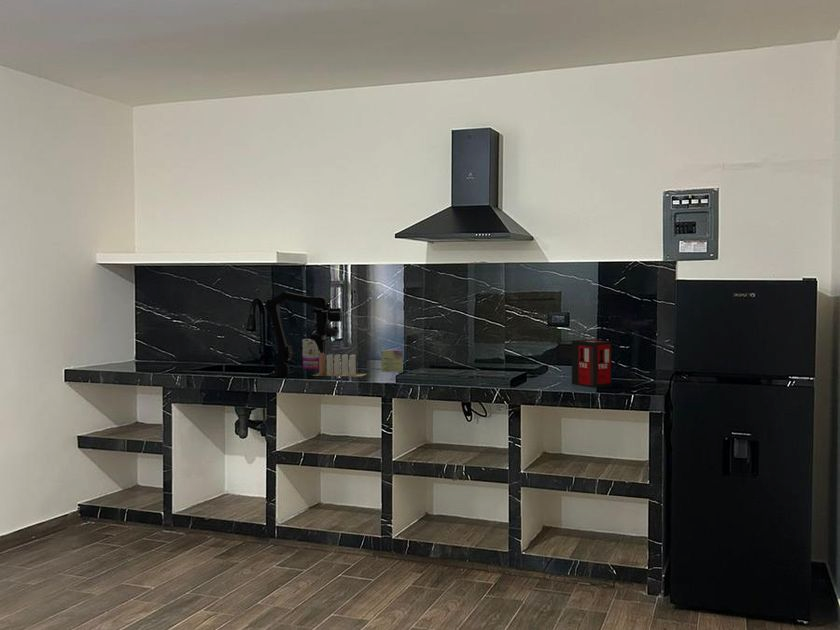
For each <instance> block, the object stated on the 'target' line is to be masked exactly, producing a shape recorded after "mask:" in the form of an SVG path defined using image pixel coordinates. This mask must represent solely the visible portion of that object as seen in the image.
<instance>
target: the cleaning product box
mask: <svg viewBox="0 0 840 630" xmlns="http://www.w3.org/2000/svg"><path fill="white" fill-rule="evenodd" d="M612 344H613V343H612V341H605V340H597V339H596V340H595V339H575V340H574V339H573V340H571V384H572V385H575V386H581V387H587V388H588V387H589V388H594V389H601V388H612V386H613V385H612V384H613V381H612V379H613V377H612V376H613V375H612V372H613V371H612V369H613V367H612V365H613V364H612V363H613V360H612V359H613V358H612V357H613V356H612V355H613V354H612V353H613V345H612Z"/></svg>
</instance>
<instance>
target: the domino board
mask: <svg viewBox="0 0 840 630" xmlns="http://www.w3.org/2000/svg"><path fill="white" fill-rule="evenodd" d="M366 375H367V373H356V375H353V376H352V377H358V378H359V377H360V378H361V377H364V376H366ZM311 376H312V377H313V376H314V377H351V376H350V373H348V375H345V376H344V375H342V373H341V374H340V375H334V372H333V374H332V375H327V372H326V374H324V375H319V372H318V373H316V374H312V375H311Z"/></svg>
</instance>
